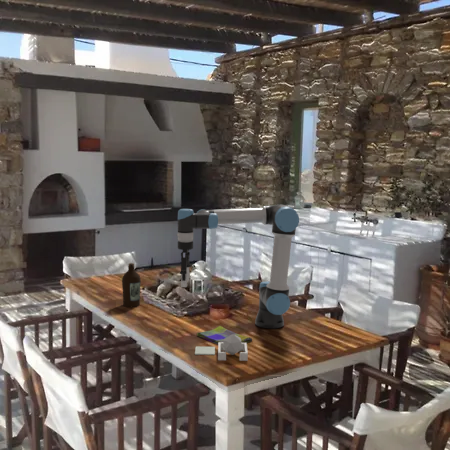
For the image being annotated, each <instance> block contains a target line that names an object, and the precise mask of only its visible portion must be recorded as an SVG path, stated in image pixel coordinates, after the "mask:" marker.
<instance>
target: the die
mask: <svg viewBox="0 0 450 450" xmlns="http://www.w3.org/2000/svg"><path fill="white" fill-rule="evenodd" d="M223 343H224V349H225V350H224V352H226V354H229V355H231V356H234V355H235V354H237V353H240V352H242V351H241V350H242V343H241V338H240V337H238V336H236V335H234V334H232V335H230V336H229V337H227V338H225V339H223Z"/></svg>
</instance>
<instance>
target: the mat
mask: <svg viewBox="0 0 450 450" xmlns="http://www.w3.org/2000/svg"><path fill="white" fill-rule="evenodd" d="M194 350H195V351H194V356H198V355H201V356H202V355H203V356H215V355H216V346H199V345H198V346H197V345H196V346H195V349H194Z"/></svg>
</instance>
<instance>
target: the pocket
mask: <svg viewBox="0 0 450 450" xmlns="http://www.w3.org/2000/svg"><path fill="white" fill-rule="evenodd" d="M217 347H218V348H217V360H218V361H227V352H225V349H224V343H223V342H218V345H217ZM248 352H249V351H248V344H247V343H242V350H241V351H239V361H240V362H241V361H244V362H246V361H247V362H248V361H249V360H248V355H249V353H248Z"/></svg>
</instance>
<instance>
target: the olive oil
mask: <svg viewBox="0 0 450 450" xmlns="http://www.w3.org/2000/svg"><path fill="white" fill-rule="evenodd" d="M127 267H128V270H127V271H126V272H125V273H124V274H123V275H122V278H121V285H122V304H123V307H125V308H138V307H139V306H140V304H141V284H142V283H141V281H142V280H141V276H140V274H139V273H138V272H137V271H136V270H135V263H134V262H130V263H128V265H127Z"/></svg>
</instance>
